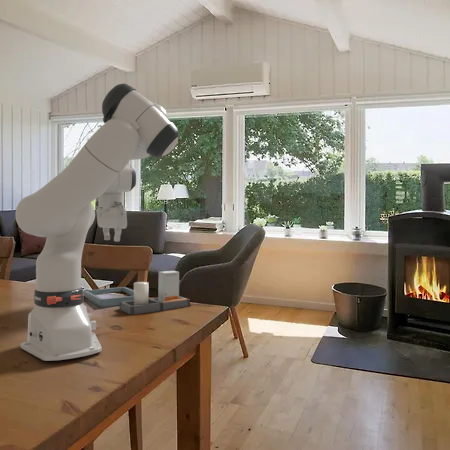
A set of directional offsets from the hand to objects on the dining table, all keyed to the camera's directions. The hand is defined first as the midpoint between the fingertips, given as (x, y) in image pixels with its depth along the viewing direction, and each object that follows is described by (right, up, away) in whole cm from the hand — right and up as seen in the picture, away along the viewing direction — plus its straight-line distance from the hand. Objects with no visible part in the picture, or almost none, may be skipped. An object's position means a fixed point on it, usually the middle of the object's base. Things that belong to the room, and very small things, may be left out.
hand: (112, 240), depth 165 cm
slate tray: (0, -22, +1) cm, 22 cm away
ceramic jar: (+13, -22, -14) cm, 29 cm away
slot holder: (+17, -22, -11) cm, 30 cm away
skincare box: (+21, -23, -8) cm, 32 cm away
